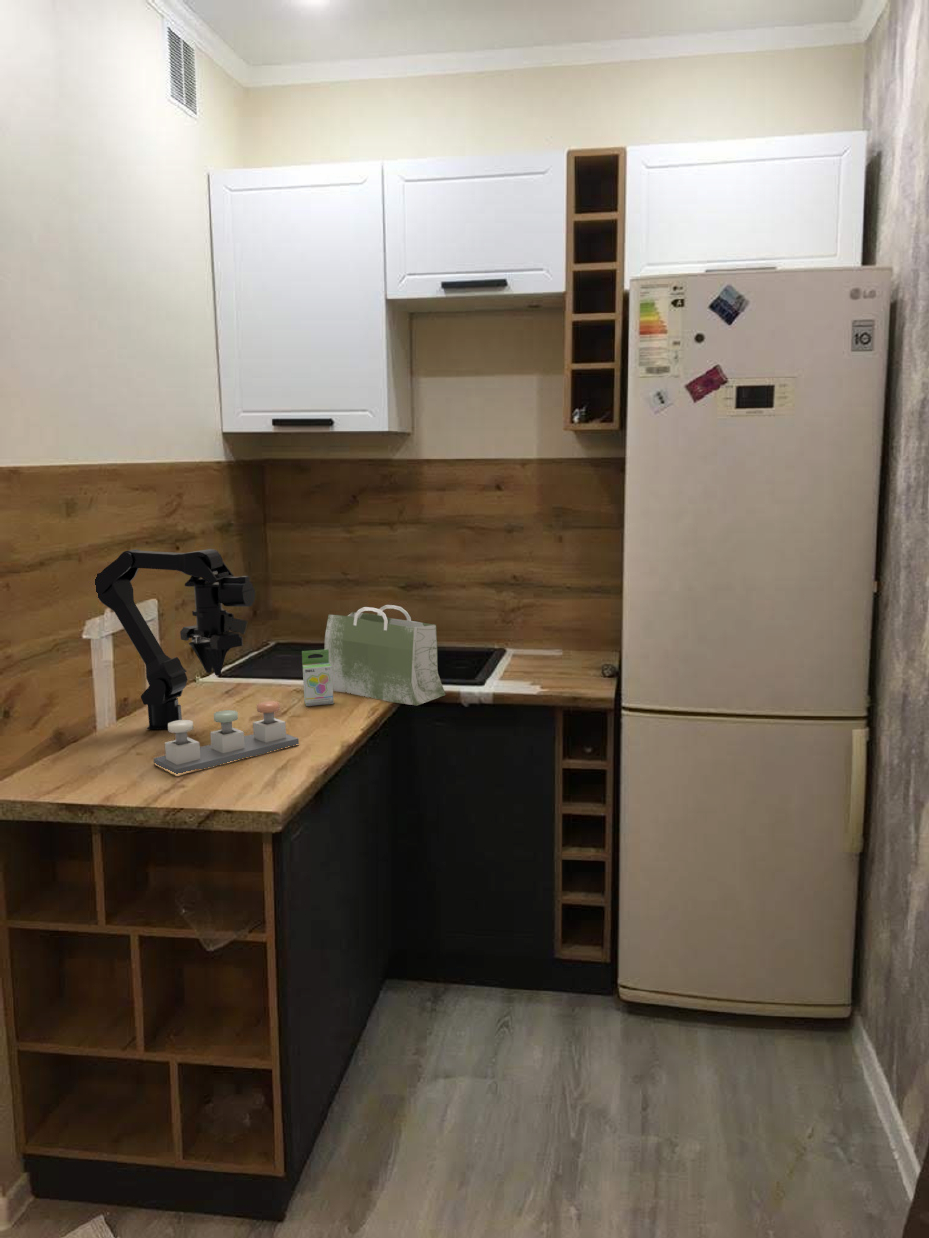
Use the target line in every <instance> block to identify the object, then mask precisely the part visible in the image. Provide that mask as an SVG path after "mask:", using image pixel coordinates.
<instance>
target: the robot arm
mask: <svg viewBox="0 0 929 1238" xmlns="http://www.w3.org/2000/svg"><path fill="white" fill-rule="evenodd" d="M139 569H148V570H165V571H176V572H181V573H183V574H185V575H186V576H190V578H189V579H188V580H187V581H186V582H185V583H184V587H187V588H188V587H189V588H190V587H191V588H192V587H193V590H194V605H195V607H194V608H195V610H192V612H191V613H192V616H194V617H195V618H196V624H195V625H189V626H183V627H182V629H181V630H180V632H179V635H180V640H183V641H186V642H187V641H189V639H191V641H190V642H188V646H190V647H191V648H192V651H194V653H195V655H196V657H197V658H198V659H199V662H200V663H201V665H202V668H203V670H204V671H205V672H206V673H207V674H209V673H212V672H213V673H214V675H215V676H217V677H218V676H220V675H222V671H223V667H224V663H225V658H226V656H227V654H228V652H229V651H230V650H231V649H233V648H239V647H243V646H244V642H243V641H244V640H243V636H242V635H245V633H246V630H247V626H248V621H247V620H243V619H241V618H235V616H234V613H233V612H232V613H231V612H228V611H227V609H224V608H223V606H224V607H238V608H239V607H240V608H241V607H242V608H250V607H252V606H253V605H254V603H255V598H256V589H255V588H254V585H253V583H252V582H251V580H250V576H249V575H242V576H234V574H233V573H232V572H231V570H230V569H229V568H228V566H227V565H226V564H225V562H224V560H223V558H222V555H221V554H220V552H219V550H216V549H213V548H208V549H203V550H202V549H201V550H196V551H189V552H174V551H173V552H171V551H152V550H140V549H137V548H136V549H130V550H125V551H123V552H122V553H120V555H118V557H117V558H116V559H115V560H113V561H112V562H111V563H110V564H109V565H107V566H106V567H104V569H102V570H101V572H98V573H96V574H97V577H96V579H95V585H96V592H97V593H98V597H97V599H98V598H99V599H98V600H99V601H100V603H102V604H103V605H104V606H106V607H107V608H108V609H110V610H112V611H113V612H114V614H115V616H116V617H117V619H118V620H119V621H118V622H119V623H120V624H121V626H122V628H123V629H124V631H125V632H126V634H127V636H128V637H129V639H130V641H131V642H132V645H133V646H134V648H135V650H136V651H137V653H138V654H139V656H140V657H141V660H142V662H143V663H144V665H145V675H146V680H147V683H148V687H147V688H146V689H145V690H144V692H143V693H142V694H141V695H140V699H141V701H142V704H143V705H147V715H148V717H147V718H148V726H147V727H146V730H147V729H159V730H168V723H170V722H173V721H177V720H183V718H182V717H183V716H182V705H181V704H179V698H180V697H181V696H182V694H183V691H184V689H185V688H186V686H187V683H188V676H187V674H186V673H187V669H185V667H183V665H182V662H181V660H180V659H179V657H177V656H176V657H173V658H171V657H169V656H168V655H167V654H166V653H165V652H164V650H163V648H162V646H161V645H160V644H159V641H158V640H157V638H156V636H155V634H154V633H153V632H152V630H151V628H150V626H149V624H148V623H147V621H146V620H145V617H144V616H143V614H142V613H141V611H140V609H139V608H138V607H137V605H136V603H135V599H134V587H133V585H132V581H133V579H134V578H136V576H137V574H138V572H139ZM241 634H242V635H241ZM212 670H213V671H212Z"/></svg>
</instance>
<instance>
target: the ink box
mask: <svg viewBox="0 0 929 1238" xmlns="http://www.w3.org/2000/svg"><path fill="white" fill-rule="evenodd" d="M311 655H321V656H322V657H312V658H311V657H310V658H309V656H311ZM301 659H302V660H301V663H302V678H303V682H302V683H303V698H304V699H303V701H304V704H305V706H306V707H311V706H312V707H314V706H323V705H334V704H335V701H334V691H333V683H332V667H331V665H330V663H329V649H326V650H324V649H317V650H315V649H313V650H302V651H301Z"/></svg>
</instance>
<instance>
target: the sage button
mask: <svg viewBox="0 0 929 1238" xmlns="http://www.w3.org/2000/svg"><path fill="white" fill-rule="evenodd" d="M238 716H239V714H238V711H237V710H234V709H233V710H231V709H230V710H229V709H228V710H227V709H225V710H219V711H216V712H214V713H213V721H214V722H216V723H220V730H221V732H222V734H223V735H225V734H230V733H232V727H233V722H235V721H238V720H239V717H238Z"/></svg>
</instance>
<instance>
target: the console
mask: <svg viewBox="0 0 929 1238" xmlns="http://www.w3.org/2000/svg"><path fill="white" fill-rule="evenodd" d="M252 730H253V733H252V734H249V735H245V732H244V731H243V730H240V729H238V728H237V727H233V726H232V733H230V734H225V735H223V734H222V732H221V729H218V730H213V731H210V744H206V745H203V746H200V741H197V740H196V739H193V738H191V737H189V736H187V742H188V743H187V744H183V745H179V746H178V745H176V739H174V740H170V741H166V742H164V751H165V755H161V756H157V757H154V758H153V764H154V763H156V764H157V765H159V766H161V767H163V768H165V769H168V770H170V771H172V772H174V773H176V774H178V773H183V772H186V771H191V770H195V769H204V768H208V767H212V768H214V767H213V766H216V765H220V764H223V763H227V762H230V761H234V760H238V759H242V758H246V757H250V756H255V757H257V756H256V755H259V756H261V755H260V754H262V755H265V754H264V753H266V754H268V753H267V752H270V751H274V750H277V749H281V748H285V747H288V746H293V745H296V744H300V743H299V741H300V739H299V737H295V736H292V735H291V734H287V731H286V730H287V729H286V721H284V720H281V719H279V718H276V717H274V723H272V724H268V725H266V724H264V719H261V720H257V721H253V722H252ZM293 747H294V746H293ZM274 752H275V751H274ZM270 753H271V752H270ZM220 766H221V765H220ZM216 767H217V766H216ZM208 769H209V768H208Z"/></svg>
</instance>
